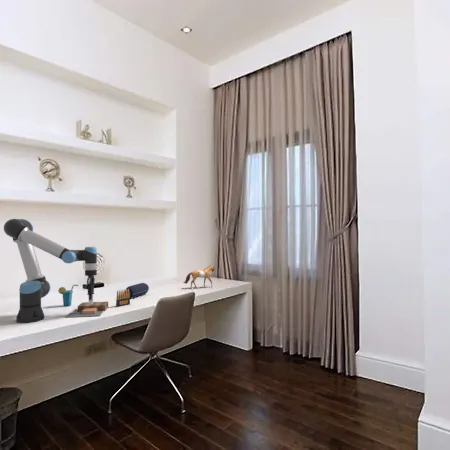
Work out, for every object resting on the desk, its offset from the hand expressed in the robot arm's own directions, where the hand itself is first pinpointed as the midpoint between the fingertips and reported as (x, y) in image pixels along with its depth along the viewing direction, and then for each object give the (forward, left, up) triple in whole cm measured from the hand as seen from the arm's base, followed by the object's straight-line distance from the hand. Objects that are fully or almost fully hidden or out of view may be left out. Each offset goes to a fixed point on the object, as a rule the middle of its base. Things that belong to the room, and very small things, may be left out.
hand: (90, 304), depth 231 cm
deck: (0, +7, -5) cm, 9 cm away
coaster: (0, -3, -5) cm, 6 cm away
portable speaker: (+26, +51, -6) cm, 57 cm away
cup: (-21, +24, -6) cm, 32 cm away
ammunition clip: (+19, +16, -6) cm, 26 cm away
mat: (-2, -7, -5) cm, 9 cm away
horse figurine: (+81, +82, -6) cm, 116 cm away
